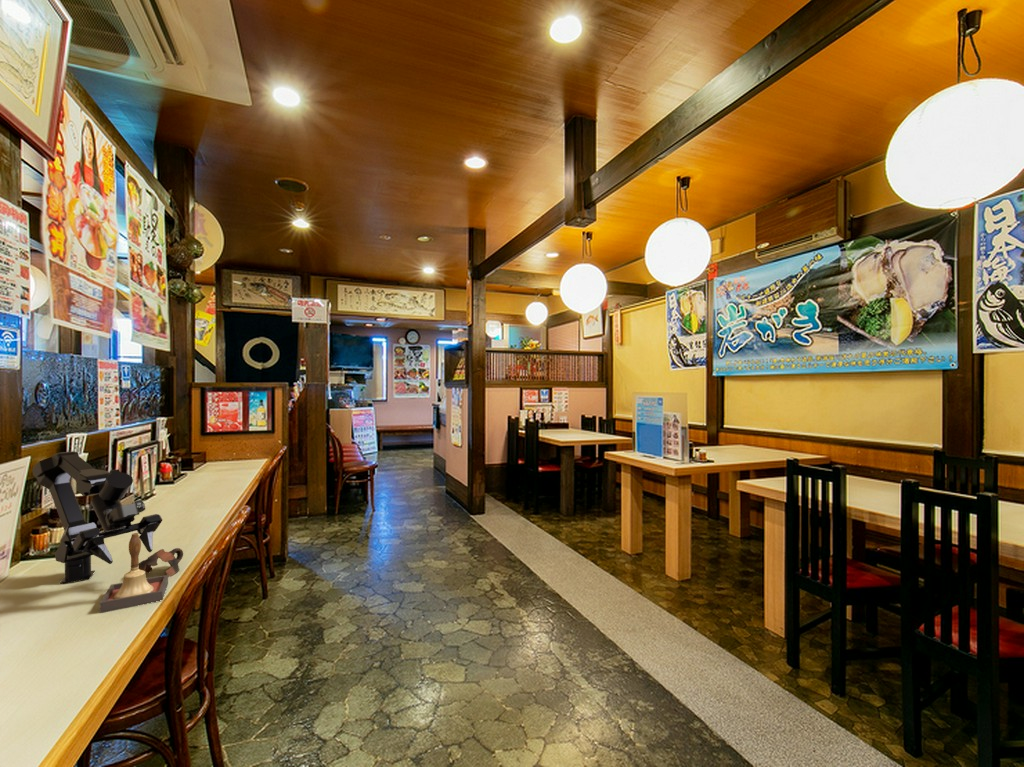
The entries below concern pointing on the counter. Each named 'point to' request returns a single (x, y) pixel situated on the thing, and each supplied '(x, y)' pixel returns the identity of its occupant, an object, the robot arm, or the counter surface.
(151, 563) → the brown curved piece
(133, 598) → the tray
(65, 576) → the robot arm
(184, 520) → the counter surface
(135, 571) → the hand bell
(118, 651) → the counter surface
